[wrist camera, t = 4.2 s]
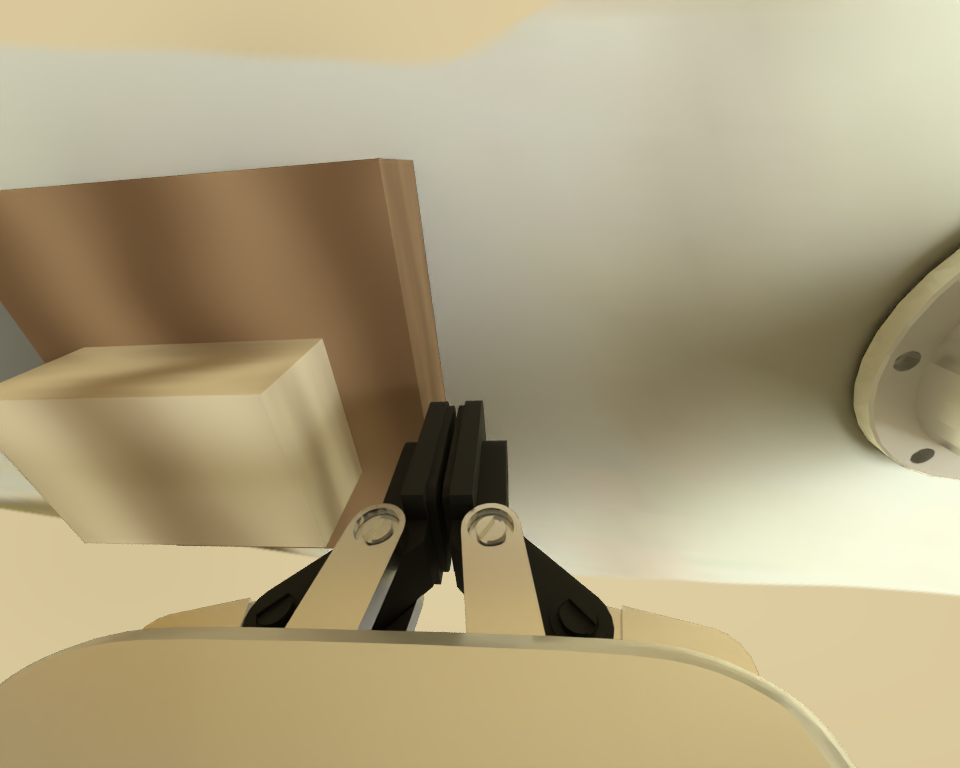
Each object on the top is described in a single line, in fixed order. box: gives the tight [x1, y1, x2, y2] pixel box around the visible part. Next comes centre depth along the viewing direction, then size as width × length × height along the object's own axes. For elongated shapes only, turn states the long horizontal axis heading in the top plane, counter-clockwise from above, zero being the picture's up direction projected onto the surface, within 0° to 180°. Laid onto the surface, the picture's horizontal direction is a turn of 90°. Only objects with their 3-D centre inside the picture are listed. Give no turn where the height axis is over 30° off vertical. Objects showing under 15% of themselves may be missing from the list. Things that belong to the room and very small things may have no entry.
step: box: [0, 158, 445, 548], centre depth 16 cm, size 14×16×4 cm
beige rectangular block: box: [0, 338, 362, 548], centre depth 13 cm, size 9×6×4 cm, turn 94°
